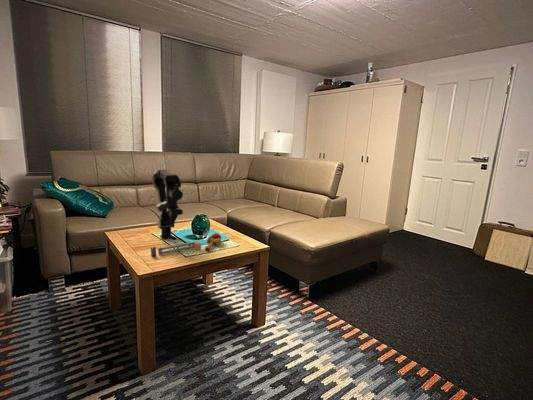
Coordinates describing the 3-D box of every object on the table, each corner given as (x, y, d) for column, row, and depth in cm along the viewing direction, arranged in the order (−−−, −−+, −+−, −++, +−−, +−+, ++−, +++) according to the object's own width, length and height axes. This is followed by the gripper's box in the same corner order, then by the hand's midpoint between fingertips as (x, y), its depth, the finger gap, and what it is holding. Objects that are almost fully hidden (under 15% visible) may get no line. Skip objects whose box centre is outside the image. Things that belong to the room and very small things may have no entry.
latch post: (193, 249, 159) (193, 242, 159) (199, 248, 161) (198, 241, 160) (195, 251, 157) (195, 244, 156) (201, 250, 159) (200, 243, 158)
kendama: (215, 255, 156) (224, 239, 173) (213, 244, 154) (222, 230, 171) (202, 256, 158) (212, 241, 175) (199, 245, 156) (210, 231, 173)
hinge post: (150, 255, 149) (150, 247, 148) (155, 254, 150) (155, 246, 149) (151, 257, 147) (151, 248, 146) (156, 256, 148) (156, 248, 147)
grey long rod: (158, 253, 151) (158, 247, 150) (195, 246, 162) (195, 241, 161) (159, 254, 149) (158, 248, 149) (196, 247, 160) (196, 242, 160)
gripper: (152, 195, 165) (153, 221, 168) (161, 201, 149) (162, 230, 153) (172, 193, 171) (173, 219, 174) (182, 199, 156) (183, 227, 159)
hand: (172, 223), depth 165 cm, fingers closed
